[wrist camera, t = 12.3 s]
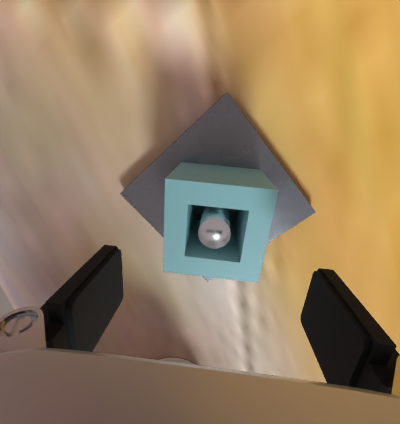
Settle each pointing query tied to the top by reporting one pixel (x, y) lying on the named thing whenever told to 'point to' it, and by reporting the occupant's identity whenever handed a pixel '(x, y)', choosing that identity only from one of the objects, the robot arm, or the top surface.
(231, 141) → the shaft stand
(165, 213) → the collar
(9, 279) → the top surface
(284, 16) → the top surface
